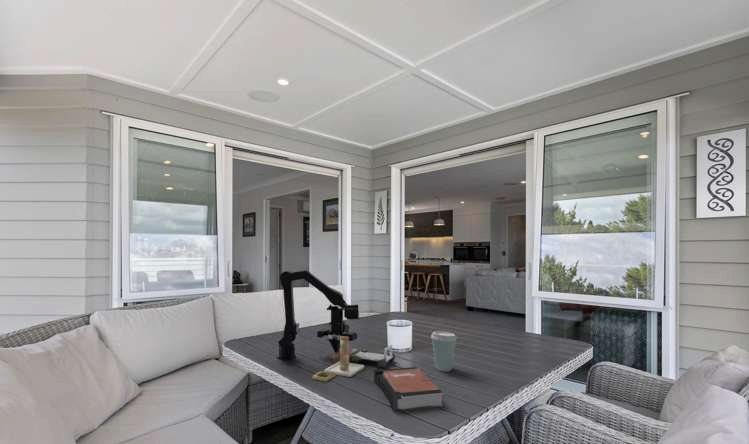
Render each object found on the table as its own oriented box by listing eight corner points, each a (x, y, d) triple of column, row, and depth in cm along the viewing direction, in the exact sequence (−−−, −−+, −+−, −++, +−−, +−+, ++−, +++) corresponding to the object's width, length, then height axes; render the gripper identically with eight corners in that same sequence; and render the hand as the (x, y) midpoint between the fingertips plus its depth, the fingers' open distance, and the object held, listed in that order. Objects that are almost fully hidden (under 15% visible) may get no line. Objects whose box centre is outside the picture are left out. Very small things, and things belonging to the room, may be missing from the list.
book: (445, 407, 118) (445, 390, 118) (393, 412, 114) (393, 396, 114) (417, 378, 143) (417, 365, 144) (374, 382, 139) (374, 369, 140)
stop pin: (339, 370, 150) (339, 338, 151) (341, 367, 154) (341, 336, 155) (348, 370, 150) (348, 338, 151) (349, 368, 153) (349, 336, 154)
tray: (324, 372, 149) (324, 369, 149) (339, 364, 160) (339, 361, 160) (350, 377, 144) (350, 374, 144) (364, 368, 155) (364, 365, 155)
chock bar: (332, 362, 163) (332, 354, 163) (343, 355, 174) (343, 347, 175) (347, 364, 161) (347, 356, 161) (357, 356, 172) (357, 349, 172)
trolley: (349, 364, 160) (349, 346, 160) (362, 356, 171) (362, 340, 171) (384, 369, 153) (384, 350, 153) (395, 361, 164) (395, 344, 164)
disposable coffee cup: (441, 363, 161) (440, 328, 162) (462, 369, 153) (461, 332, 154) (426, 369, 153) (425, 332, 155) (447, 375, 146) (447, 336, 147)
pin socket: (312, 379, 142) (312, 376, 142) (321, 374, 147) (321, 371, 147) (326, 381, 139) (326, 378, 139) (335, 376, 145) (335, 373, 145)
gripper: (362, 318, 174) (362, 351, 173) (328, 315, 182) (328, 347, 181) (351, 322, 164) (351, 358, 163) (316, 319, 172) (316, 353, 171)
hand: (336, 353), depth 170 cm, fingers closed
